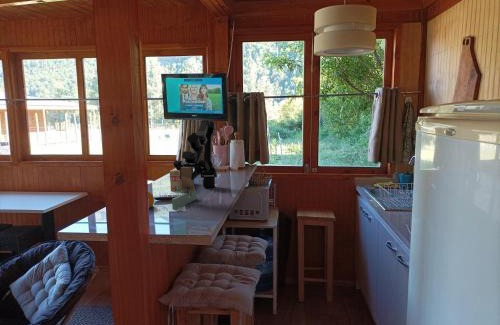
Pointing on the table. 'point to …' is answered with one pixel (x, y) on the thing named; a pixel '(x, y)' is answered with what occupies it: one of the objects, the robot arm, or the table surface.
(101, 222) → the table surface
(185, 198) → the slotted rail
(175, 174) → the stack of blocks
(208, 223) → the table surface
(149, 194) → the fruit
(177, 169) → the robot arm
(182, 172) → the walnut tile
